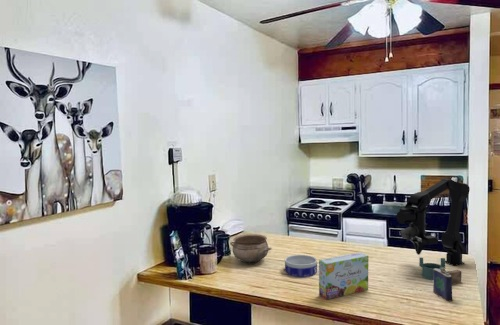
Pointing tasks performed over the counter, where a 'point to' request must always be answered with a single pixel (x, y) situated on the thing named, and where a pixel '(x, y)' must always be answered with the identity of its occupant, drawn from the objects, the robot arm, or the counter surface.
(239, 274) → the counter surface
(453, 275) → the stop rail
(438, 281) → the flask
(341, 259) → the snack box
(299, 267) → the dog bowl
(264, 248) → the cooking pot
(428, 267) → the bracket
